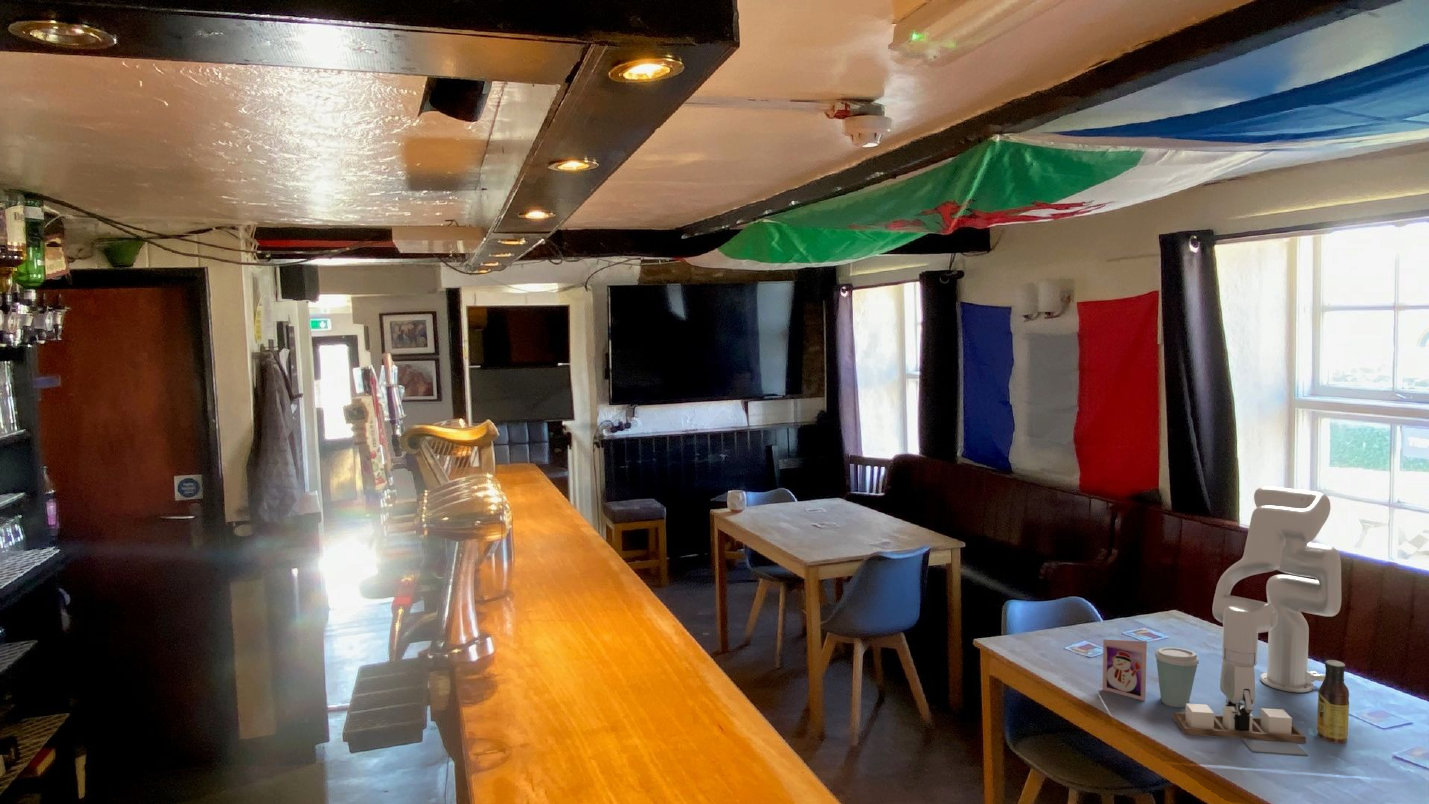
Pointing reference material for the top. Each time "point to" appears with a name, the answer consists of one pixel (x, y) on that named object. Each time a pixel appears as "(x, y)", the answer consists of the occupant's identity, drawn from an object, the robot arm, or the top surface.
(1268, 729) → the blank cube
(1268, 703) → the top surface
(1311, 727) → the top surface
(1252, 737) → the organizer
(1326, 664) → the sauce bottle
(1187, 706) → the blank cube
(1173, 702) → the disposable coffee cup
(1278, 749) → the slate mat
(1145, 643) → the greeting card
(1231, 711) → the lettered cube
